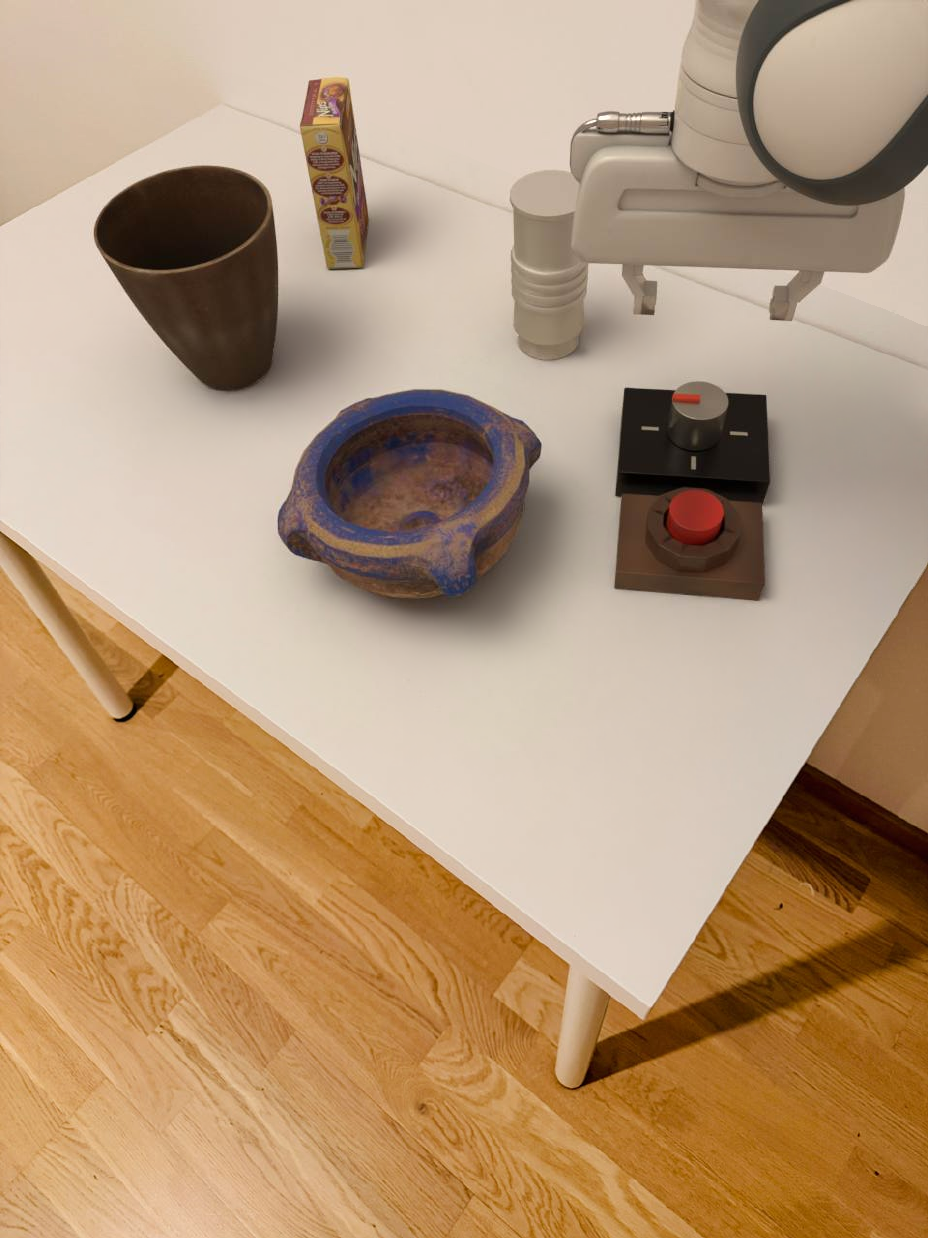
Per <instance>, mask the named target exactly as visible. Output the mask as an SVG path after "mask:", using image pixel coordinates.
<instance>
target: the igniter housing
mask: <svg viewBox="0 0 928 1238" xmlns="http://www.w3.org/2000/svg"><path fill="white" fill-rule="evenodd" d="M689 490H700V491H705V492H708V493H710V494H712V495H713V496H715V497H716V498H717V499H718V500H719V501H720V502H721V504H722V506H723V509H724V516H723V520H722V523H721V527H720V531H719V533H718V535H717V536H716V537H715V538H714V539H713V540H712V541H710V542H708V543H706V544H702V545H689V544H685V543H682V542H680V541H678V540H677V539H675V538H674V537H673V536H672V535H671V534H670V532H669V530H668V528H667V517H668V512H669V506H670V503H671V501H672V500H673V498H674V497H675V496H677V495H678V494H680V493H682V492H685V491H689ZM620 499H621V500H620V507H619V519H618V533H617V542H616V544H617V546H616V559H615V570H614V571H615V572H614V585H613V588H614V589H617V590H627V591H628V590H629V591H639V592H640V591H642V592H651V593H652V592H653V593H665V594H677V595H691V596H700V597H714V598H726V599H727V598H728V599H739V600H748V601H749V600H751V601H760V599H761V596H762V595H763V594H762V593H763V591H764V588H765V585H766V570H765V569H766V568H765V567H766V566H765V543H764V515H763V511H764V510H763V506H762V503H758V502H743V501H729V500H727V498H724V497H722V496H720V495H718V494H716V493H714V492H712V491H710V490H708V489H703V488H688V487H683V488H679V489H676V490H673V491H671V492H668V493H665V494H662V495H661V496H654V495H640V494H625V493H622V497H620Z"/></svg>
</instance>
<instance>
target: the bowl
mask: <svg viewBox="0 0 928 1238" xmlns="http://www.w3.org/2000/svg"><path fill="white" fill-rule="evenodd" d="M542 445H543V444H542V442H541V440H540V439H539V437H538V436H537V435H536V433H535V432H534V431H533V430H532V429H531V427H529V426H528V424H526V423H525V422H524V420H521V419H518V418H515V417H512V416H511V415H509V414H507V413H505V412H504V411H502V410H500V409H498V408H496V407H494V406H492V405H490V404H487V403H485V402H484V401H482V400H479V399H477V398H475V397H473V396H471V395H468V394H464V393H461V392H455V391H451V390H447V389H437V388H433V389H432V388H412V389H406V390H402V391H397V392H392V393H386V394H382V395H379V396H375V397H366V398H364V399H362V400H359V401H356V402H354V403H352V404H350V405H349V406H347V407H345V408H343V409H342V410H340V411H339V412H338V413H337V415H336V416H335V418H334V419H333V420H332V421H330V422H329V423H327V425H326V426H325V427H324V428H322V429H321V430H320V431H318V433H317V434H316V435H315V436H314V437H313V439H312V440H311V442H309V444H308V445H307V446H306V447H305V449H304V450H303V452H302V454H301V456H300V458H299V460H298V463H297V464H296V467H295V469H294V474H293V479H292V483H291V489H290V490H289V493H288V495H287V497H286V499H285V501H284V502H283V503H282V505H281V507H280V508H279V510H278V514H277V534H278V536H279V537H280V540H281V542H282V543H283V544H284V545H285V547H286V548H287V549H288V551H289V552H290V553H292V554H293V555H294V556H297V557H301V558H304V559H306V560H311V561H314V562H317V563H322V564H325V565H327V566H328V567H329V568H330V569H331V570H332V571H333V572H334V573H335V574H336V575H337V576H339V577H340V578H342V579H343V580H345V581H347V582H348V583H350V584H352V585H353V586H355V587H357V588H359V589H362V590H365V591H368V592H371V593H374V594H377V595H380V596H385V597H392V598H398V599H427V598H435V597H437V596H438V597H439V596H442V595H445V596H448V597H450V598H454V597H460V596H463V595H465V594H466V593H468V592H469V591H470V590H471V589H472V588H473V587H474V586H475V585H476V583H477V582H478V579H479V578H481V577H482V576H484V575H485V574H486V573H487V572H488V571H489V570H491V569H492V567H493V566H494V565H495V564H496V563H497V562H498V561H499V560H500V559H501V558H502V557H503V555H504V554H505V553H506V552H507V551H508V549H509V547H510V546H511V544H512V543H513V540H514V538H515V537H516V534H517V532H518V530H519V527H520V524H521V520H522V518H523V516H524V515H523V514H524V511H525V500H526V496H527V493H528V490H529V486H530V470H531V469H532V467H533V466H534V465H535V463H536V462H537V461H538V460H539V459H540V458H541V453H542Z"/></svg>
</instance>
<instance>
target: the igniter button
mask: <svg viewBox="0 0 928 1238" xmlns="http://www.w3.org/2000/svg"><path fill="white" fill-rule="evenodd" d="M723 516H724V509H723V506H722V504H721V502H720V501H719V500H718V499H717V498H716V497H715V496H713V495H712V494H710V493H708V492H705V491H700V490H689V491H685V492H682V493H680V494H678V495H677V496H675V497H674V498H673V500H672V501H671V503H670V506H669V512H668V517H667V528H668V530H669V532H670V534H671V535H672V536H673V537H674V538H675V539H677V540H678V541H680V542H682V543H685V544H689V545H702V544H706V543H708V542H710V541H712V540H713V539H714V538H715V537H716V536H717V535H718V533H719V531H720V527H721V523H722V520H723Z"/></svg>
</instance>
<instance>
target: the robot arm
mask: <svg viewBox="0 0 928 1238" xmlns="http://www.w3.org/2000/svg"><path fill="white" fill-rule="evenodd" d="M677 78H678V80H677V87H676V88H677V89H676V94H675V102H674V109H673V110H672V111H642V112H637V113H636V112H633V113H630V112H629V113H625V112H621V113H620V112H619V111H617V110H616V111H614V110H609V111H608V110H607V111H601V112H598V113H597V115H596V118H591V119H589V120H587V121H585V122H583V123H581V124H580V125H579V126H578V127H577V128H576V130H575V131H574V132H573V134H572V138H571V140H570V150H569V152H570V153H569V168H570V172H571V173H572V175H573V176H574V178H575V179H576V180H577V182H578V183H579V188H578V194H577V200H576V206H575V213H574V220H573V230H572V240H571V249H572V251H573V252H574V253H575V254H576V256H577V257H578V258H579V259H580V261H582V262H584V263H588V264H598V265H599V264H601V265H622V267H621V277H622V278H623V280H624V282H625V284H626V285H627V287H628V289H629V290H630V292H631V293H632V295H633V296H634V303H633V315H640V316H655V311H656V304H657V296H658V280H647V279H646V277H645V275H644V273H643V272H644V267H645V266H658V267H659V266H661V267H687V268H710V269H711V268H714V269H739V270H743V269H744V270H767V271H769V270H770V271H797V274H795V276H793V277H792V279H790V281H788V283H787V284H786V285H774V286H773V289H772V295H771V296H772V297H771V298H770V302H769V305H768V306H769V308H768V313H769V320H770V321H781V322H792V321H793V319H794V316H795V313H796V309H797V307H798V303H801V302H802V301H803V300H804V299H806V297H807V296H808V295H810V294H811V293H812V292H813V291H814V290H815V289H816V288H817V287H818V286H820V284H822V281H823V277H824V275H825V272H827V273H828V272H829V273H855V274H869V273H872V272H875V270H877V269H878V268H880V267H881V266H882V265H884V264H885V263H886V262H887V261H888V260H889V259H890V255H891V254H892V251H893V249H894V245H895V242H896V239H897V236H898V232H899V228H900V224H901V221H902V217H903V211H904V205H905V198H906V189H905V188H906V187H907V186H908V185H909V184H911V182H913V181H914V180H916V179H917V177H919V175H920V174H921V173H922V172H923V171H924V170H925V169H926V168H927V167H928V0H694V12H693V18H692V21H691V25H690V28H689V30H688V32H687V35H686V37H685V41H684V42H683V46H682V50H681V55H680V63H679V72H678V77H677ZM593 127H595V128H593Z"/></svg>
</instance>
